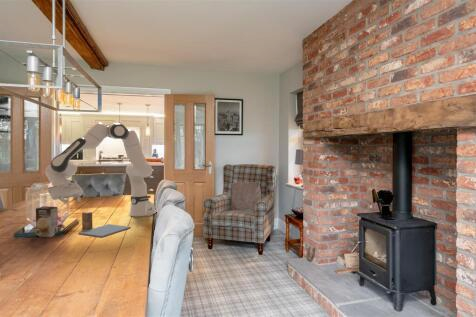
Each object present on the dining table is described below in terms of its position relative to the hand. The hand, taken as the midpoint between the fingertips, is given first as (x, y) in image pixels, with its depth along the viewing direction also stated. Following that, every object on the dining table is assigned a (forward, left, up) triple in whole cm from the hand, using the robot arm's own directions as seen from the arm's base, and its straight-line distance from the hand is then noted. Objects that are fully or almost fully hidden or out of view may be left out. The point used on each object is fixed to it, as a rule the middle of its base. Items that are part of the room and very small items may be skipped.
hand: (73, 201), depth 192 cm
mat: (0, +27, -16) cm, 31 cm away
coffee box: (+20, +4, -16) cm, 26 cm away
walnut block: (0, +12, -16) cm, 20 cm away
